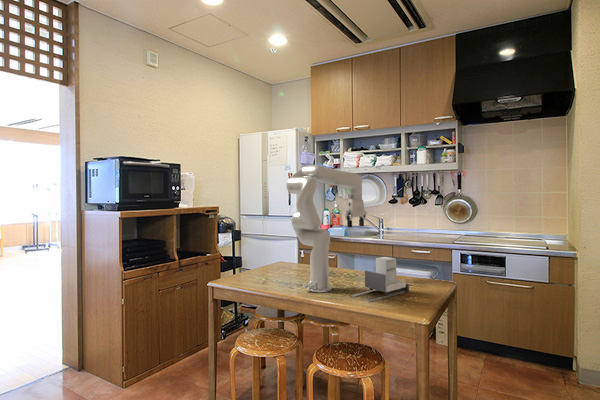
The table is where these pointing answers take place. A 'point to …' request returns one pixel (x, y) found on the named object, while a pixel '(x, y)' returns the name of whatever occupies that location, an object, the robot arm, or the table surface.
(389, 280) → the supplement box
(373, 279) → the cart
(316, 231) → the robot arm
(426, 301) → the table surface
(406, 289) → the rail track
